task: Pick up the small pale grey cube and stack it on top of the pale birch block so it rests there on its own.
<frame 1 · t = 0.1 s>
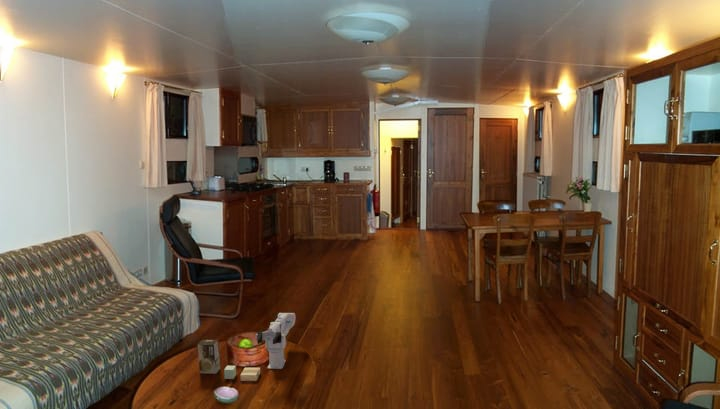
hand: (265, 342, 247), 22 cm above the table, tool horizontal, fingers open, 7 cm apart
birch block: (250, 377, 256), on the table
pale grey cube: (230, 376, 257), on the table
coffee box: (210, 371, 264), on the table
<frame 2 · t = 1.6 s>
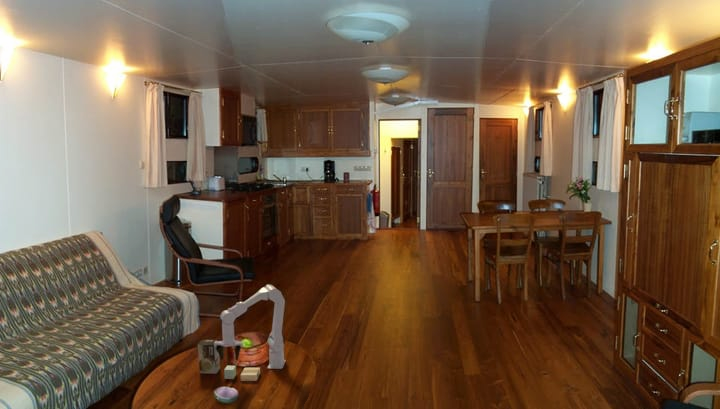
hand: (229, 359, 256), 9 cm above the table, tool pointing down, fingers open, 7 cm apart
nothing on the table moved.
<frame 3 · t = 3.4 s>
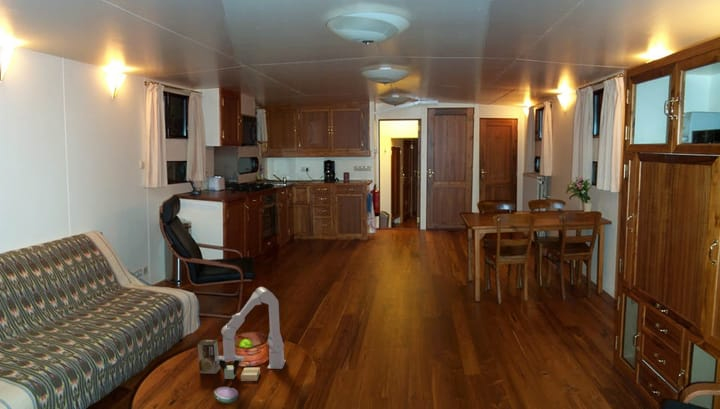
hand: (230, 374, 257), 1 cm above the table, tool pointing down, fingers closed on pale grey cube, 5 cm apart
pale grey cube: (230, 376, 257), on the table, touching gripper
everything else where it was.
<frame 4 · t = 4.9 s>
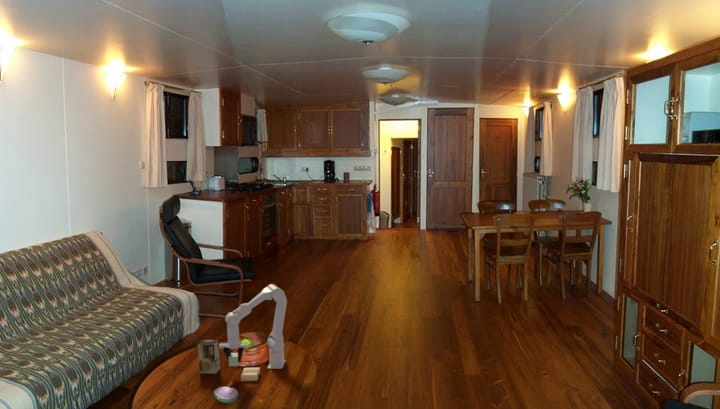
hand: (234, 361, 256), 8 cm above the table, tool pointing down, fingers closed on pale grey cube, 5 cm apart
pale grey cube: (234, 364, 256), point 7 cm above the table, touching gripper
everything else where it was.
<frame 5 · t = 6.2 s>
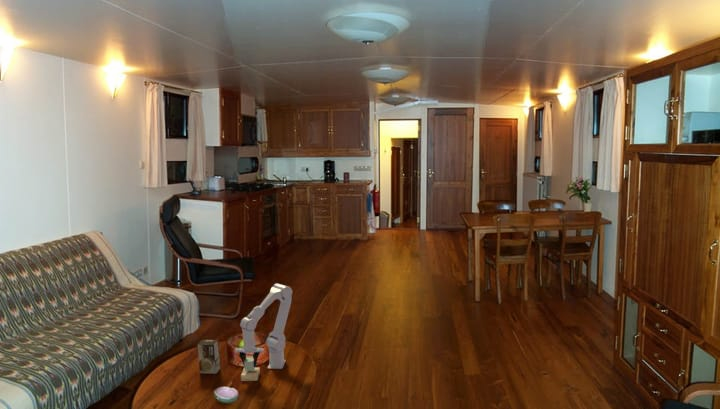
hand: (250, 366, 256), 6 cm above the table, tool pointing down, fingers closed on pale grey cube, 5 cm apart
pale grey cube: (250, 368, 256), point 4 cm above the table, touching gripper
everything else where it was.
when the fingers open (6 cm above the table, at t = 6.7 s): pale grey cube drops 1 cm, resting on birch block.
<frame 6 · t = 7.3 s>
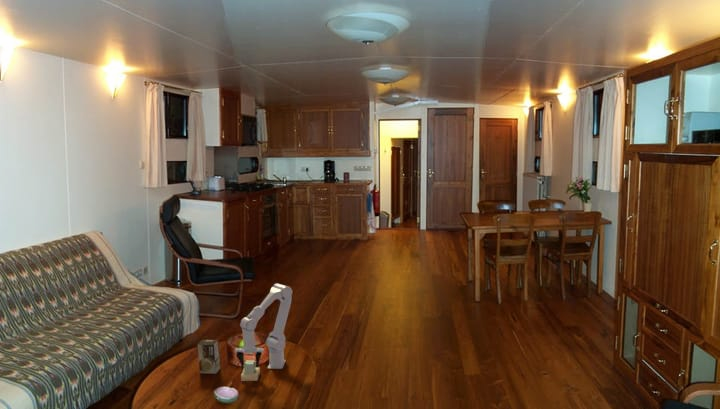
hand: (250, 366, 256), 6 cm above the table, tool pointing down, fingers open, 7 cm apart
birch block: (250, 377, 256), on the table, touching pale grey cube
pale grey cube: (250, 371, 256), point 3 cm above the table, touching birch block
everything else where it was.
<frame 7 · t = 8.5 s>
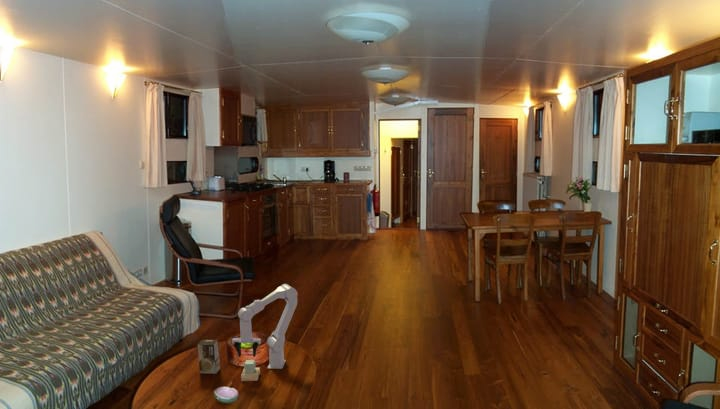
hand: (247, 356, 259), 9 cm above the table, tool pointing down, fingers open, 7 cm apart
nothing on the table moved.
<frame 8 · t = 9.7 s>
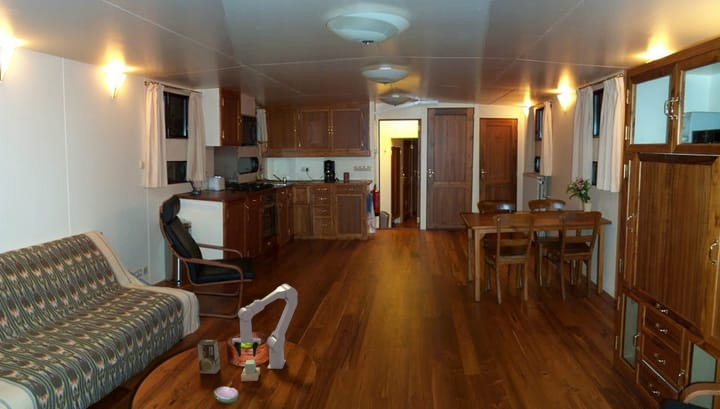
hand: (247, 356, 259), 9 cm above the table, tool pointing down, fingers open, 7 cm apart
birch block: (250, 377, 256), on the table
pale grey cube: (250, 371, 256), point 3 cm above the table
everything else where it was.
at the end: pale grey cube 0.1 cm off-centre on the birch block, point 3.5 cm above the birch block's base; pale grey cube tilted 0°; pale grey cube touching nothing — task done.
